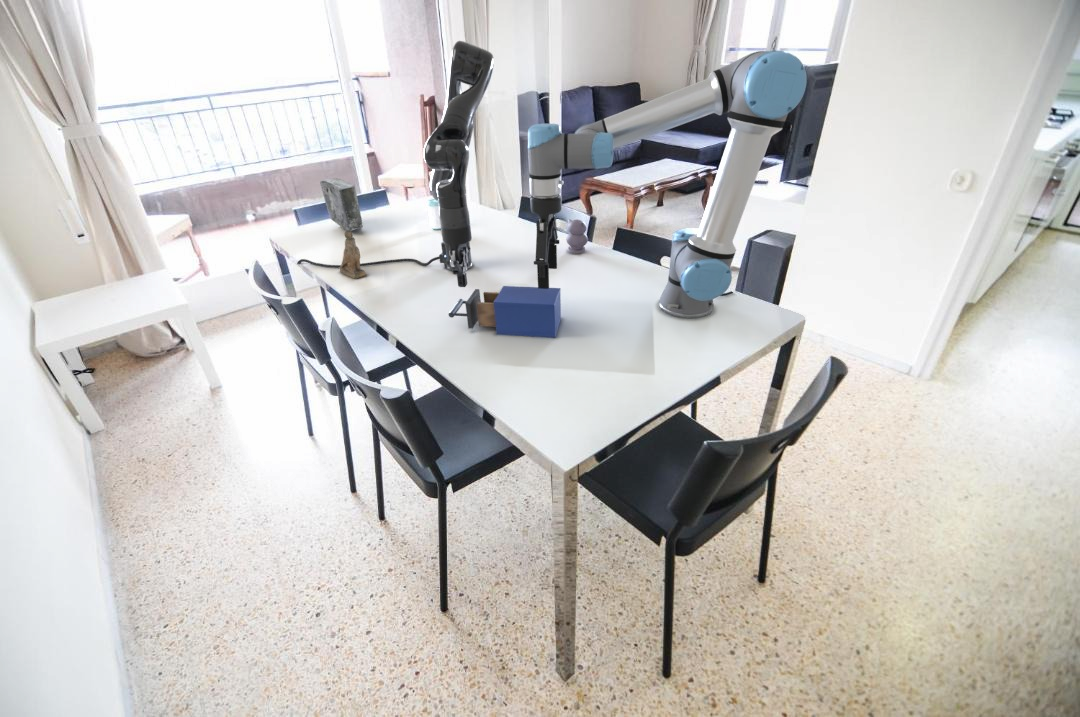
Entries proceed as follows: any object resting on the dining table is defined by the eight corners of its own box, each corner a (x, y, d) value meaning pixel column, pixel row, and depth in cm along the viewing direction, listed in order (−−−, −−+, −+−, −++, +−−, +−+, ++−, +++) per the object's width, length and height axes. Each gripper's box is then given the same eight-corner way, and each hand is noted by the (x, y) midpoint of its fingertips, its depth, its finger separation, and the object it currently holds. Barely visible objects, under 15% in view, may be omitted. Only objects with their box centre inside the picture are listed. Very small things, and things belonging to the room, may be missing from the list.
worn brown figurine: (368, 281, 178) (362, 235, 166) (353, 285, 175) (347, 238, 163) (352, 266, 184) (346, 221, 172) (338, 270, 181) (331, 224, 169)
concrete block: (368, 232, 220) (358, 186, 209) (348, 237, 216) (336, 189, 205) (349, 220, 239) (338, 176, 228) (330, 223, 234) (319, 179, 224)
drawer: (449, 327, 138) (446, 302, 134) (460, 312, 146) (457, 288, 142) (520, 331, 135) (519, 305, 131) (527, 315, 143) (526, 291, 139)
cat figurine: (592, 250, 190) (592, 219, 184) (579, 256, 185) (579, 224, 179) (574, 246, 195) (575, 215, 189) (561, 251, 191) (561, 220, 184)
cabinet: (496, 334, 136) (493, 302, 131) (505, 316, 145) (503, 285, 140) (555, 337, 133) (554, 304, 128) (560, 319, 142) (560, 288, 137)
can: (445, 229, 220) (441, 202, 214) (429, 230, 220) (425, 202, 214) (447, 224, 226) (444, 198, 220) (432, 225, 226) (428, 198, 220)
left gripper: (461, 231, 121) (469, 296, 130) (476, 216, 132) (482, 277, 141) (432, 230, 122) (441, 295, 131) (449, 215, 133) (457, 276, 142)
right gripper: (553, 209, 108) (554, 298, 119) (567, 183, 129) (568, 261, 140) (519, 208, 109) (524, 296, 121) (539, 183, 130) (542, 260, 141)
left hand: (463, 285), depth 136 cm, fingers closed
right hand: (547, 277), depth 130 cm, fingers open, 13 cm apart
